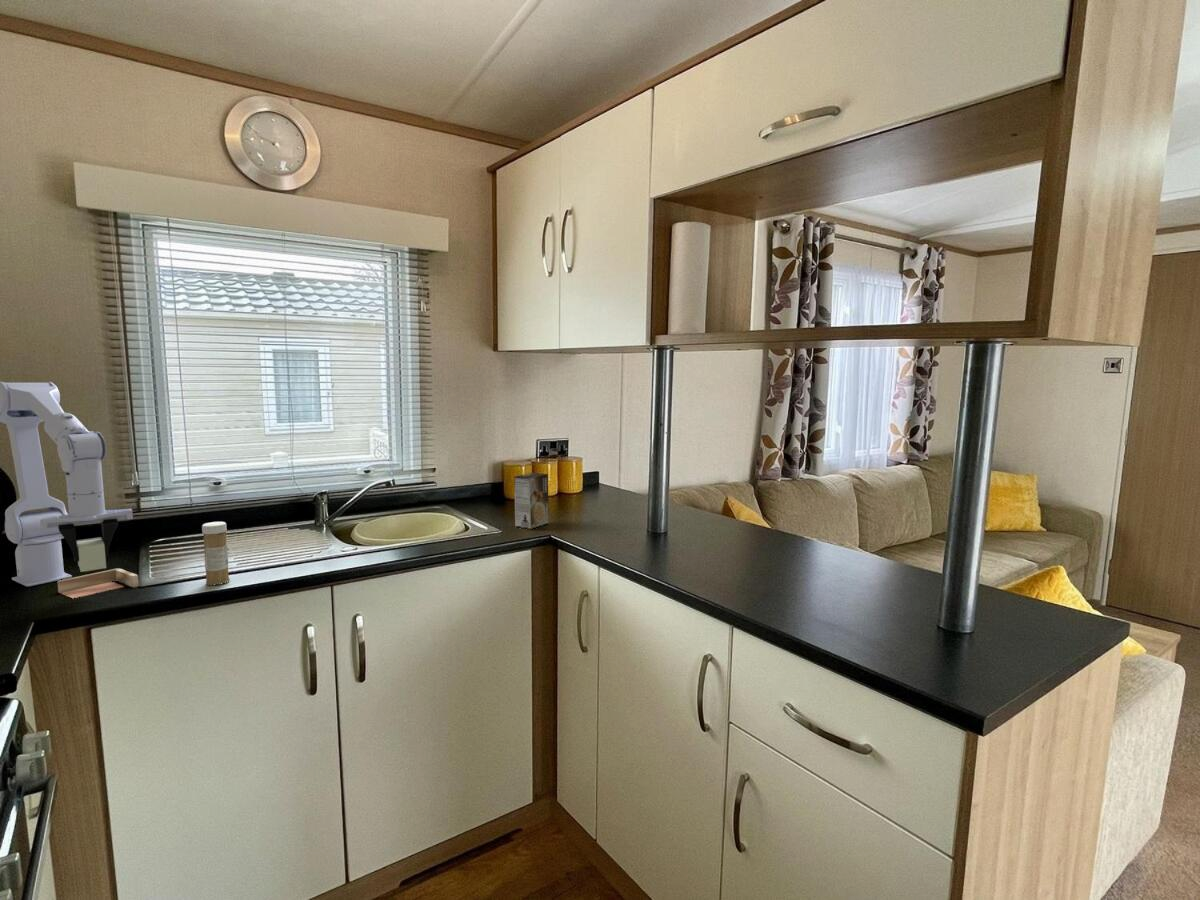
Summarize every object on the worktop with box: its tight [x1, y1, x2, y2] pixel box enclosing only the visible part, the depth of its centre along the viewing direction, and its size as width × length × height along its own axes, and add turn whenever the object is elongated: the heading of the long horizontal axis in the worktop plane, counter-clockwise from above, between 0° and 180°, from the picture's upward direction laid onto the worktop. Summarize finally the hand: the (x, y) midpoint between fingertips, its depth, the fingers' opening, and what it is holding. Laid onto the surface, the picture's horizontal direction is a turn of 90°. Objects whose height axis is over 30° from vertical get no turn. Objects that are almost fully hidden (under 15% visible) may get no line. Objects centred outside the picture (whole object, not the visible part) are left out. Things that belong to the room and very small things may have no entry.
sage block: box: [76, 536, 107, 573], centre depth 129 cm, size 4×7×5 cm, turn 43°
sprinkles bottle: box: [201, 521, 230, 586], centre depth 139 cm, size 5×5×13 cm
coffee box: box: [513, 472, 550, 528], centre depth 194 cm, size 9×6×16 cm
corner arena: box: [56, 567, 140, 600], centre depth 135 cm, size 10×11×2 cm
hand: (91, 558), depth 129 cm, fingers closed on sage block, 4 cm apart
